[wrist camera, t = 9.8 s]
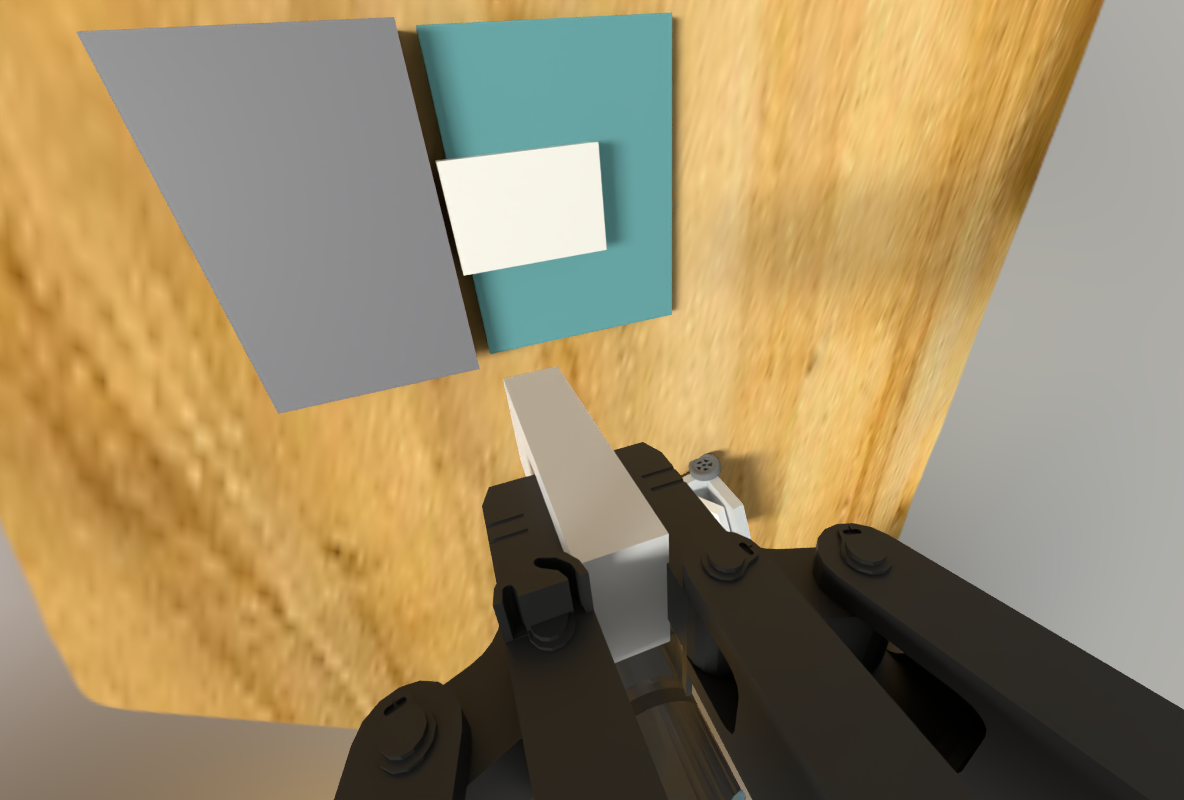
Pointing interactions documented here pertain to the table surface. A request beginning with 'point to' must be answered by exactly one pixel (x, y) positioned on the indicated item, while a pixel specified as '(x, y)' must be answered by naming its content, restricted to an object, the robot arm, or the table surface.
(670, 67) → the mat
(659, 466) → the robot arm
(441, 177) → the tile
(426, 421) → the table surface
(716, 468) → the toy car
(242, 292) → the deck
